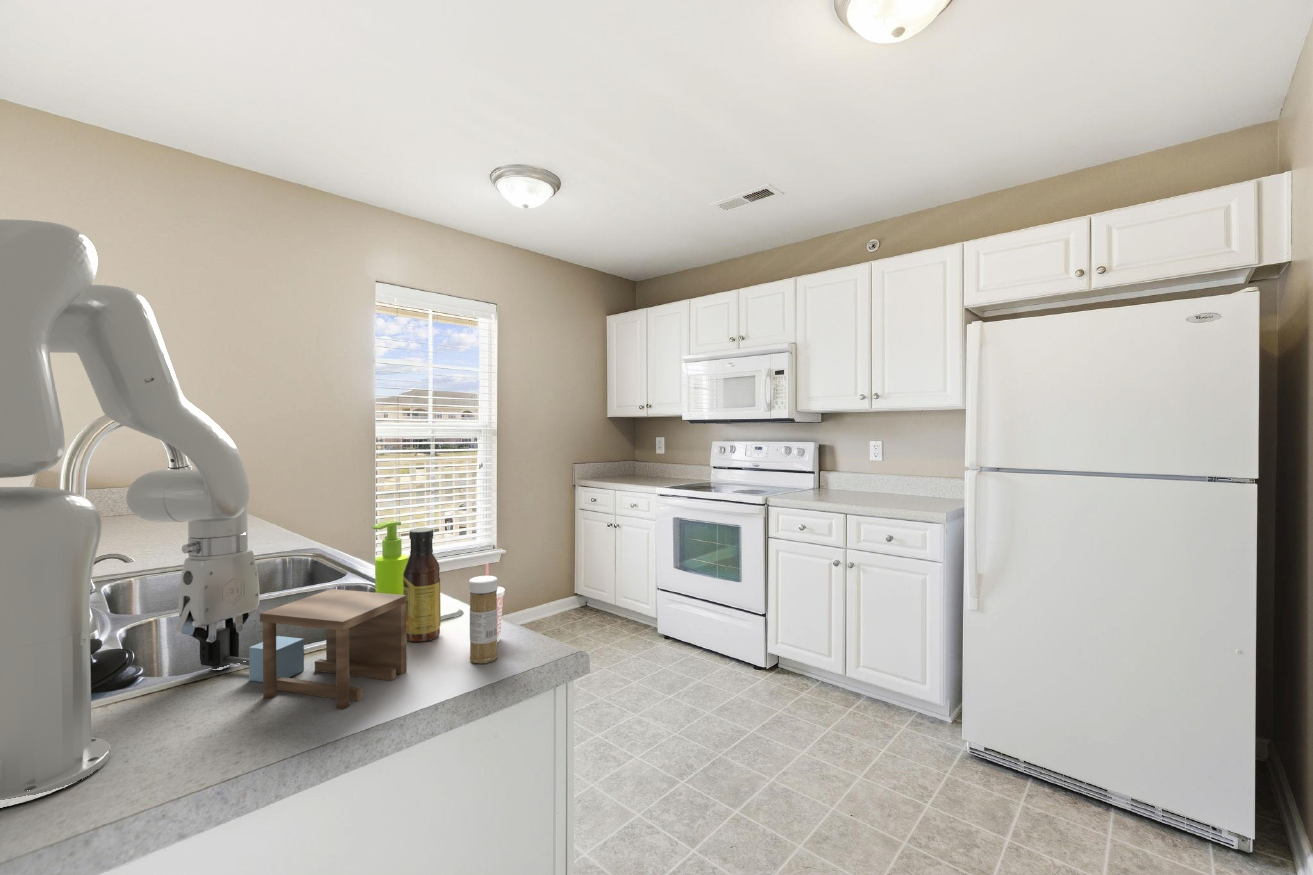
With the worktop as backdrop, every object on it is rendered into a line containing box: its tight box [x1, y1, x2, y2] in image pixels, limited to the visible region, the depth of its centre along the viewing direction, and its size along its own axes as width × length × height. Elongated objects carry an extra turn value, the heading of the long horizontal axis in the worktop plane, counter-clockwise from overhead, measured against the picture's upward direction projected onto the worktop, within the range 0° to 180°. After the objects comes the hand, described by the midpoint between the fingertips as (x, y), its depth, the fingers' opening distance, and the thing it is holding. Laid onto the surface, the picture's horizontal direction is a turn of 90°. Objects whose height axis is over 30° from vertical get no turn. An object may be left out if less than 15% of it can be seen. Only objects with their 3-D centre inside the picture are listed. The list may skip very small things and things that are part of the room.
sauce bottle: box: [403, 527, 442, 643], centre depth 107 cm, size 7×6×20 cm
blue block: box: [210, 627, 305, 683], centre depth 92 cm, size 5×15×6 cm, turn 76°
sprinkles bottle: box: [468, 575, 499, 664], centre depth 97 cm, size 5×5×14 cm
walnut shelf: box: [259, 588, 408, 710], centre depth 88 cm, size 13×14×12 cm
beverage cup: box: [468, 562, 505, 643], centre depth 106 cm, size 6×6×14 cm
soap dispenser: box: [371, 520, 409, 595], centre depth 114 cm, size 6×7×20 cm
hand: (219, 660), depth 94 cm, fingers closed on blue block, 2 cm apart
